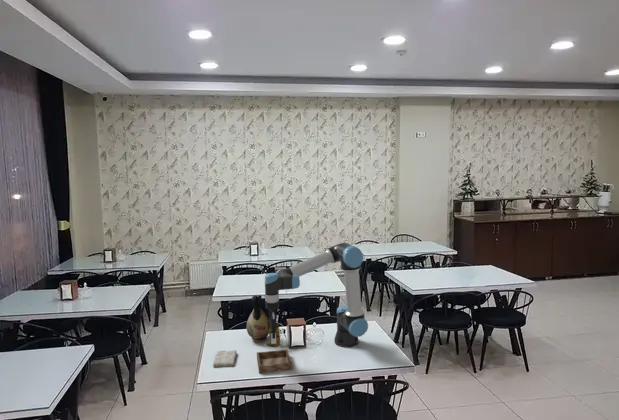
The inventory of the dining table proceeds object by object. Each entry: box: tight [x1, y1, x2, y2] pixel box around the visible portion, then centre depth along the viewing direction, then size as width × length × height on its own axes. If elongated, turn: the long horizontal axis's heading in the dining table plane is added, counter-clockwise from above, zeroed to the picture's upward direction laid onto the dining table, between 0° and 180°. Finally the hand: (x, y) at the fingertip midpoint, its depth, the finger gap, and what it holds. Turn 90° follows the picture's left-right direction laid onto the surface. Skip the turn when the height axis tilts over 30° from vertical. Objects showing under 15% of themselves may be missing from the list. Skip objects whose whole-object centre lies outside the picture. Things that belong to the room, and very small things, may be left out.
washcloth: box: [212, 349, 237, 368], centre depth 255 cm, size 12×18×3 cm, turn 5°
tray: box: [256, 349, 293, 374], centre depth 248 cm, size 18×18×4 cm
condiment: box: [263, 322, 283, 350], centre depth 246 cm, size 7×8×12 cm
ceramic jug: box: [246, 294, 270, 343], centre depth 282 cm, size 17×15×30 cm
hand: (273, 340), depth 247 cm, fingers closed on condiment, 6 cm apart
